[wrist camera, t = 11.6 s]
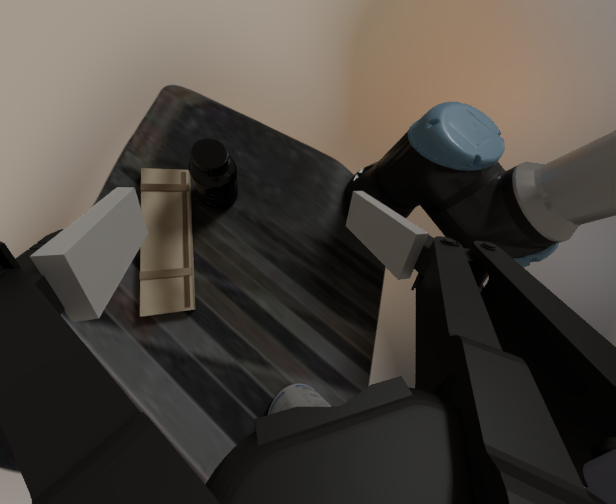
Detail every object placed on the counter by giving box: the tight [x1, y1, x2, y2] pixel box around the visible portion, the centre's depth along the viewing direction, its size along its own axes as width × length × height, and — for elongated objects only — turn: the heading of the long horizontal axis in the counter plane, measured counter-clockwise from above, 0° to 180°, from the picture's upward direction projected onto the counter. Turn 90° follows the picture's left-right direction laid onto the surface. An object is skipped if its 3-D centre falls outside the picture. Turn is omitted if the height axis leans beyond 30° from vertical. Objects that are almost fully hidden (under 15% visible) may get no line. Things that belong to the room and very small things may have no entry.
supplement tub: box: [268, 384, 331, 415], centre depth 31 cm, size 10×10×15 cm
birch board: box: [140, 168, 195, 317], centre depth 37 cm, size 7×24×2 cm, turn 8°
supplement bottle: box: [189, 138, 238, 209], centre depth 36 cm, size 7×7×12 cm
